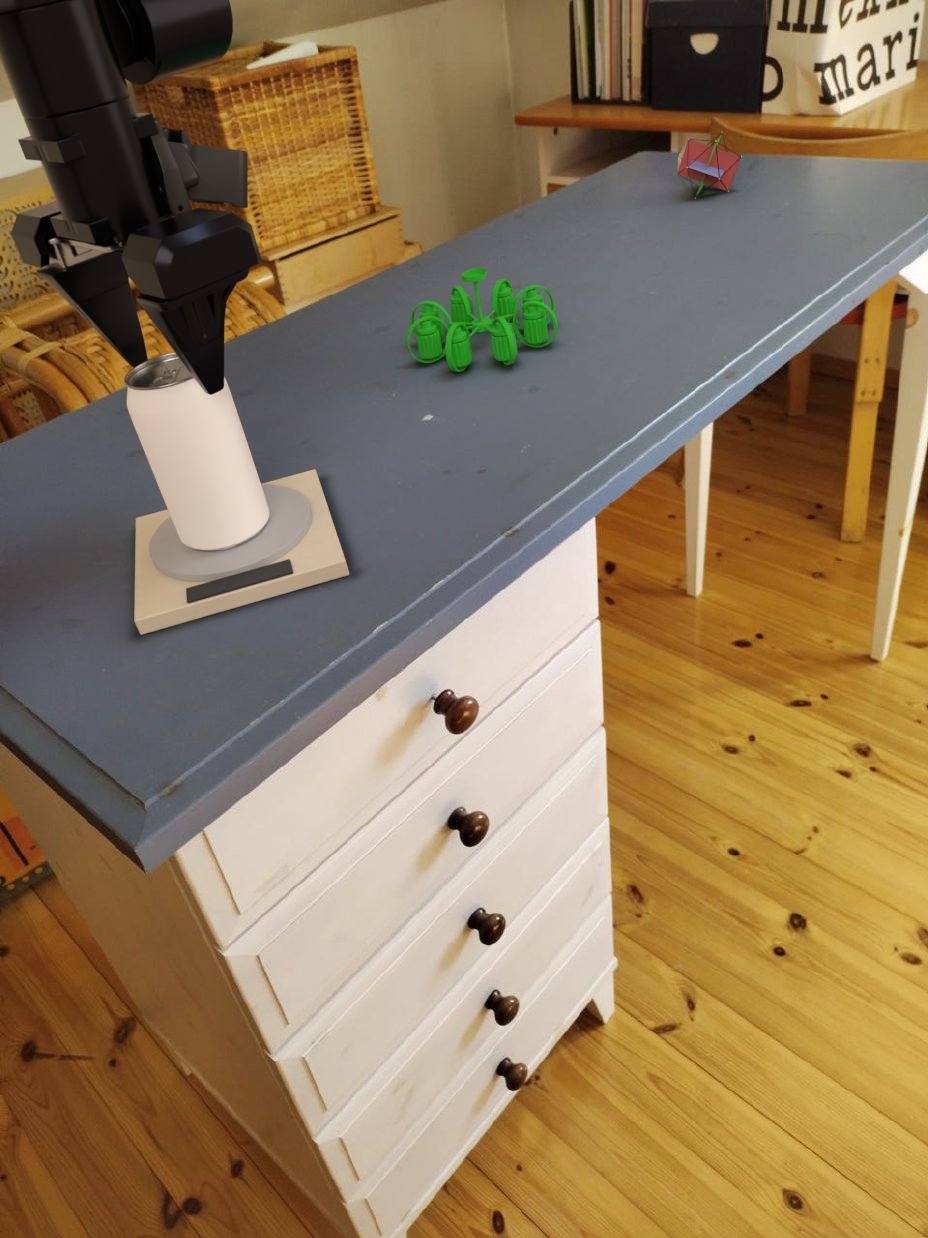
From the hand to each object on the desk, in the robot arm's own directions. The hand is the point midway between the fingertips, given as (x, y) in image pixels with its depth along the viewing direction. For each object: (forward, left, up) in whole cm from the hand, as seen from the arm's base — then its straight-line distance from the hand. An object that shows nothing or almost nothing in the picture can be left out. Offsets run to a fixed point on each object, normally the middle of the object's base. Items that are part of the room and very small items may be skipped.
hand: (176, 377), depth 60 cm
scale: (0, -1, -13) cm, 13 cm away
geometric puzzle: (+64, +53, -13) cm, 84 cm away
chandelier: (+26, +24, -13) cm, 38 cm away
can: (0, 0, -11) cm, 11 cm away
